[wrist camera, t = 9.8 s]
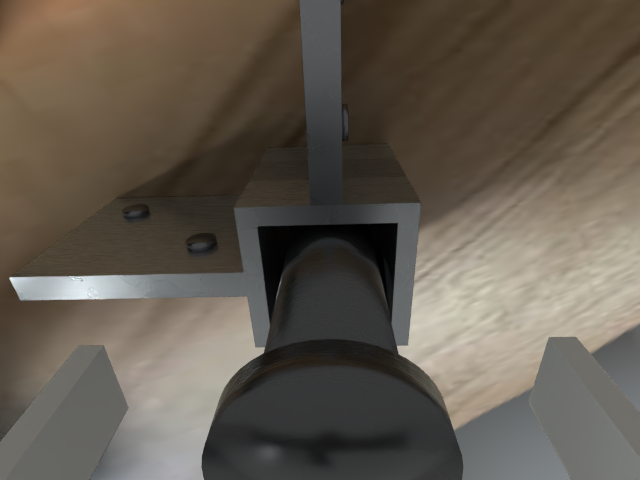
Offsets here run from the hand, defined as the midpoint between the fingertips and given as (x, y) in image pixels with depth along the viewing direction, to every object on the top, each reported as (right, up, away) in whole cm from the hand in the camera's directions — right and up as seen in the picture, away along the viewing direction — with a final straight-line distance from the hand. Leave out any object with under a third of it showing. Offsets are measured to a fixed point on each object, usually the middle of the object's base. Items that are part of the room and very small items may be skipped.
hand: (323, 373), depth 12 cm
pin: (+1, +6, +12) cm, 14 cm away
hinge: (-5, +11, +10) cm, 15 cm away
